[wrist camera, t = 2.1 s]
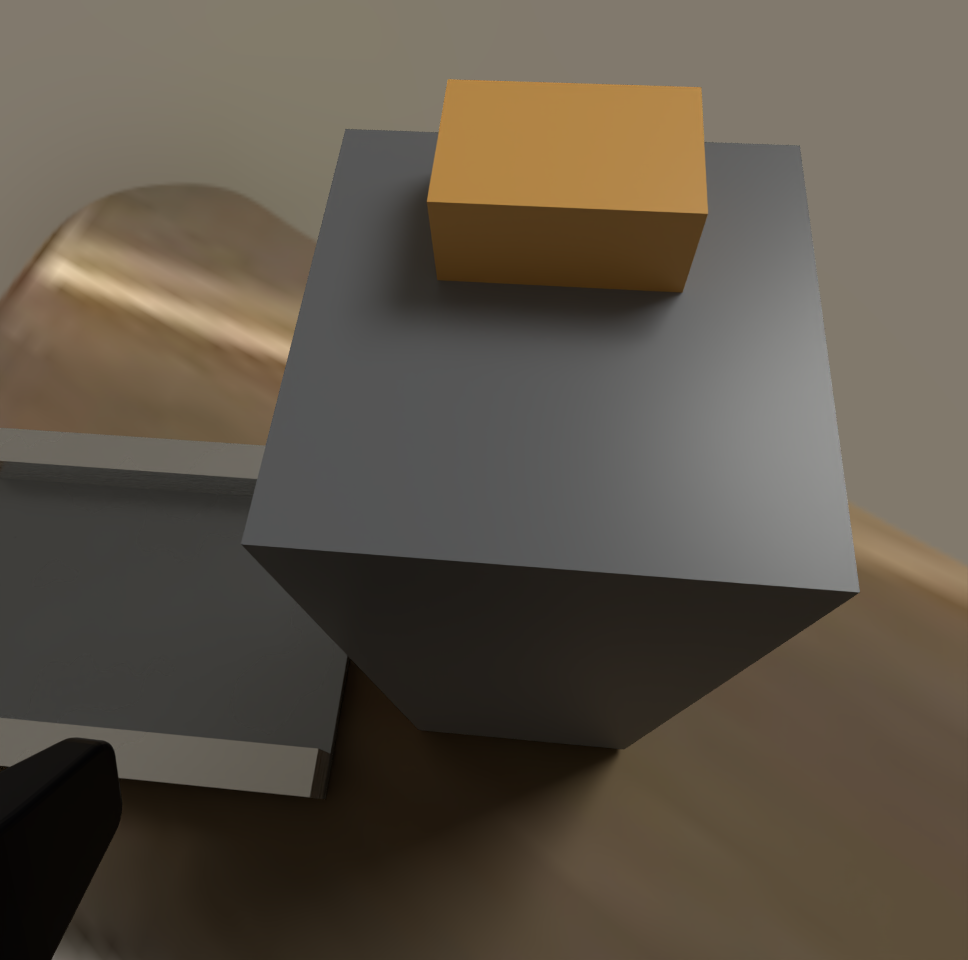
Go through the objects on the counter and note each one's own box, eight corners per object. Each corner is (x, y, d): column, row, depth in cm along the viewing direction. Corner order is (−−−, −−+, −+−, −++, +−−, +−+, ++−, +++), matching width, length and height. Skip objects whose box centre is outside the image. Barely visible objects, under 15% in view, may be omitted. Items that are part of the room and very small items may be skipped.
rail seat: (325, 799, 17) (309, 797, 16) (-110, 755, 18) (-161, 749, 17) (380, 477, 21) (371, 453, 19) (16, 451, 21) (-17, 426, 20)
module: (624, 749, 17) (926, 548, 5) (418, 730, 18) (193, 494, 5) (625, 553, 20) (837, 56, 7) (442, 539, 20) (324, 42, 7)
